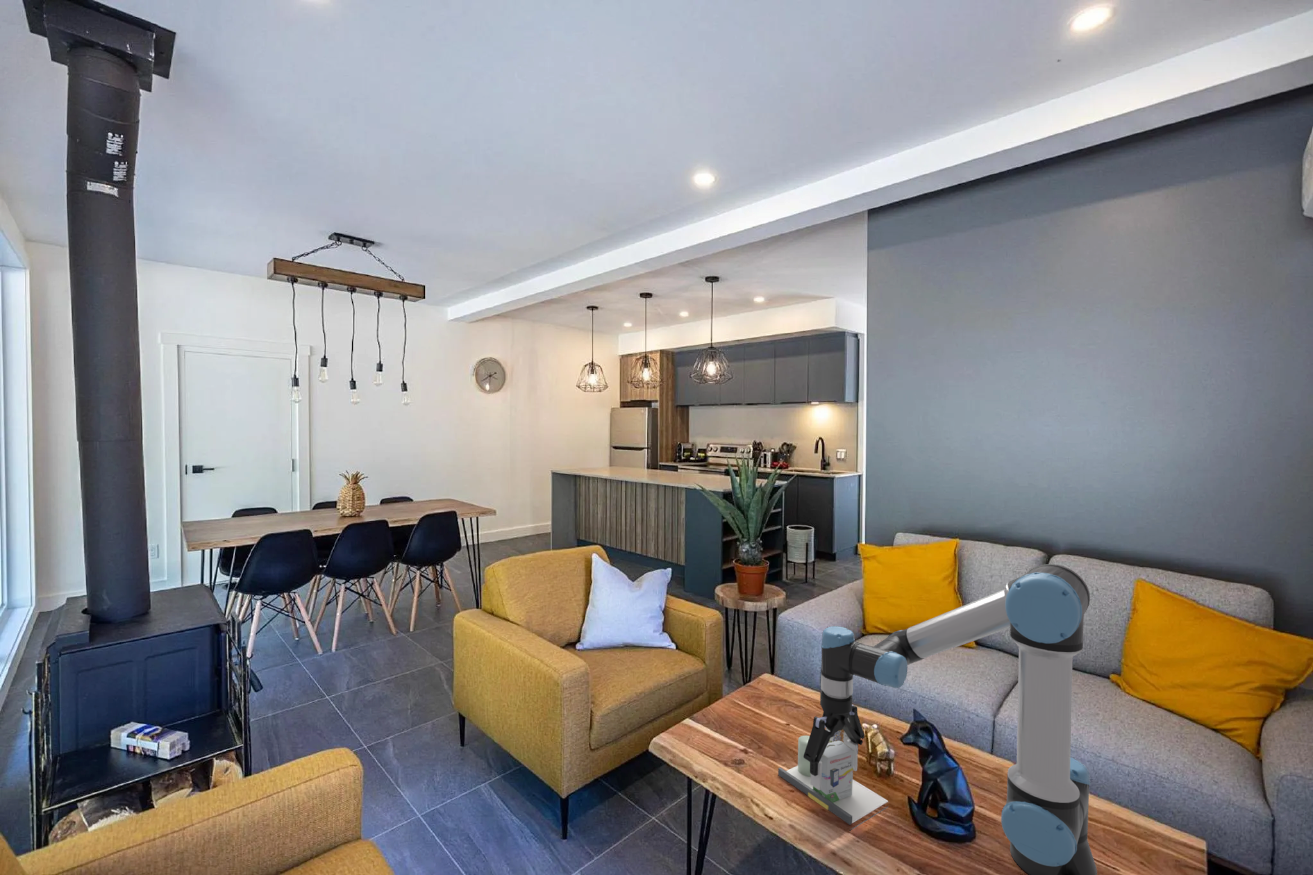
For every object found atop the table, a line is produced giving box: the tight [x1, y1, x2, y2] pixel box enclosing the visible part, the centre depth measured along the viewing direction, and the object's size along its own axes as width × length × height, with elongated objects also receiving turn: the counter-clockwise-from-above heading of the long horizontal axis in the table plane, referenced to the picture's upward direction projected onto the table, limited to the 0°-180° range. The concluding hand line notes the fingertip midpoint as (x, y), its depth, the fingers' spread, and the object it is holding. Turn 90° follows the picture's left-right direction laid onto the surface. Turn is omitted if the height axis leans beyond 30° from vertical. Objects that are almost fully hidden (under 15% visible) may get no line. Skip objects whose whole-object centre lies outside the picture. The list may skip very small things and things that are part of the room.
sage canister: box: [797, 735, 811, 777], centre depth 150 cm, size 5×5×8 cm
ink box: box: [813, 741, 854, 803], centre depth 140 cm, size 9×5×12 cm, turn 116°
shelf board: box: [777, 765, 889, 832], centre depth 143 cm, size 22×15×3 cm
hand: (834, 777), depth 141 cm, fingers open, 13 cm apart
